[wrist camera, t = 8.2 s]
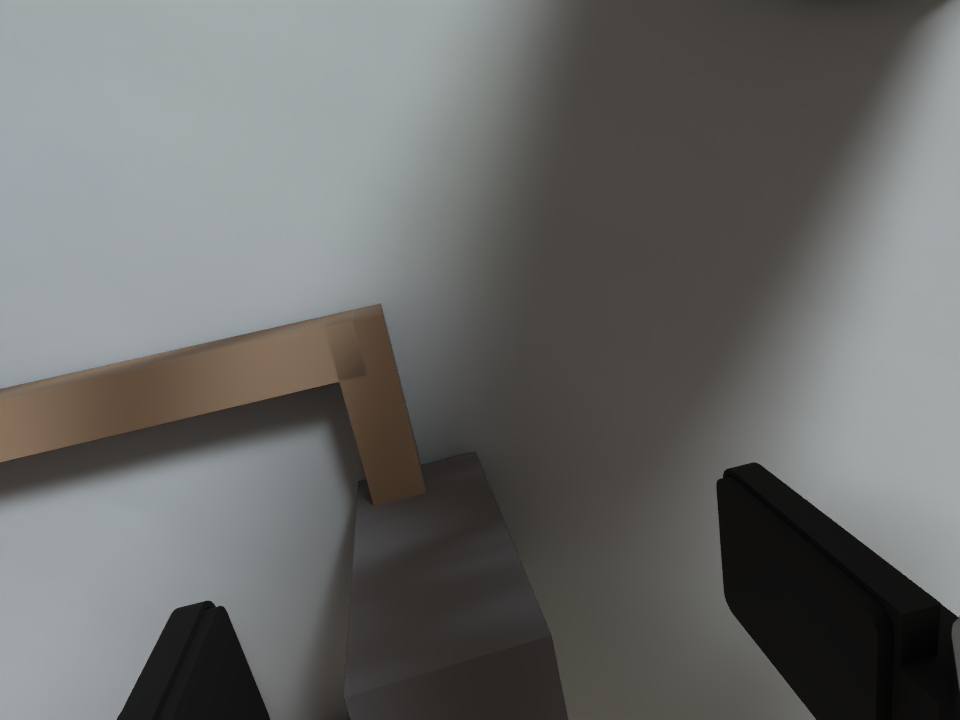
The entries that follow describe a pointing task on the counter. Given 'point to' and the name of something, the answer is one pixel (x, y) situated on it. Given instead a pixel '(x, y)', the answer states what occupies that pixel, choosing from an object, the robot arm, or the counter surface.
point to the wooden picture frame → (379, 514)
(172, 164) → the counter surface
